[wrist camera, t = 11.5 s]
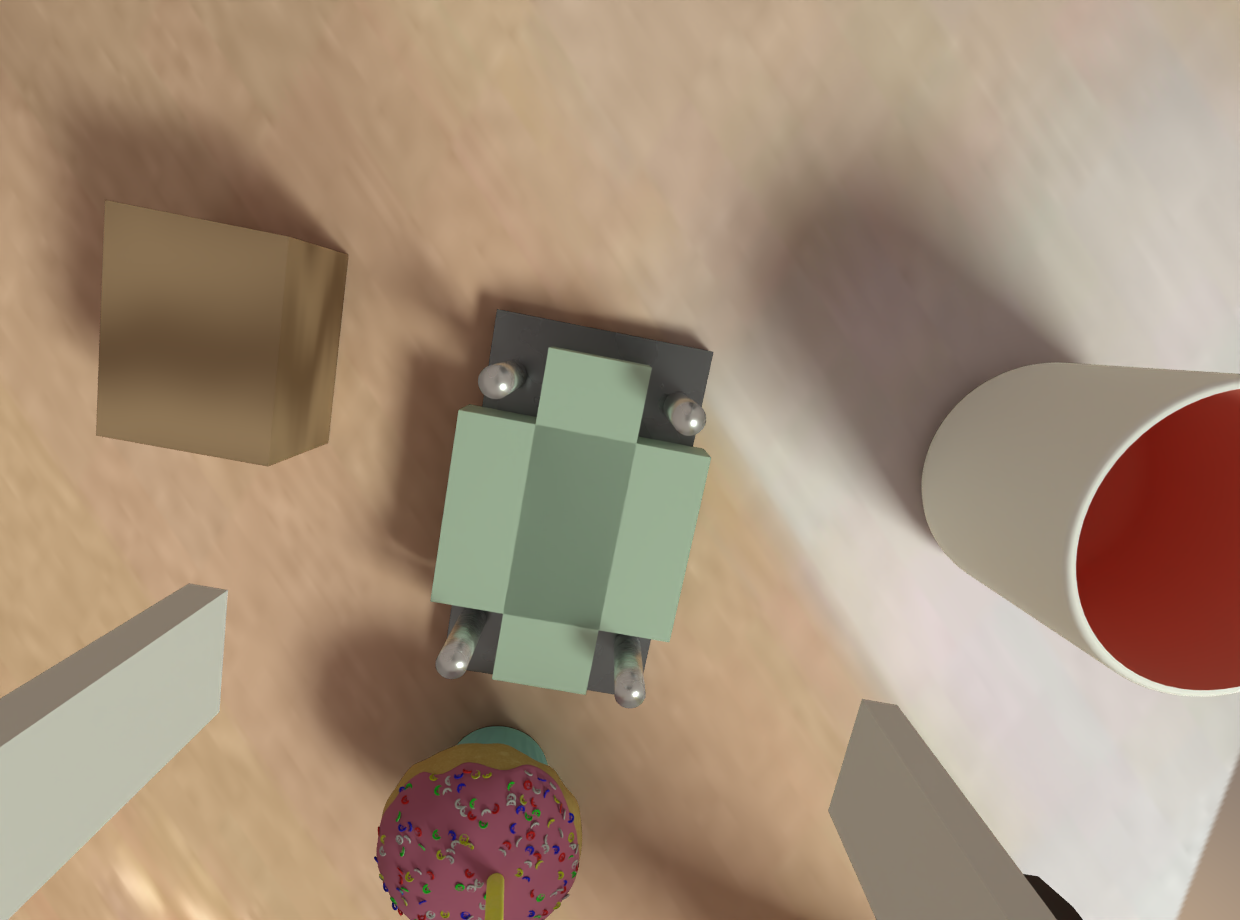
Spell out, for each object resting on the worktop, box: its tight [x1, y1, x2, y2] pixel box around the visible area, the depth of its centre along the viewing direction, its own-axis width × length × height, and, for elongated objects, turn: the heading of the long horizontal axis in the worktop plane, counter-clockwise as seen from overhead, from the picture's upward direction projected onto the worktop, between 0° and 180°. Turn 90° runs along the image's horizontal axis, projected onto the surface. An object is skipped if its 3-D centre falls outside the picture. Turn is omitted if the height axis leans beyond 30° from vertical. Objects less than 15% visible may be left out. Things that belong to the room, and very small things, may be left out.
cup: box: [922, 363, 1240, 697], centre depth 24 cm, size 10×10×10 cm
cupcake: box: [374, 726, 582, 920], centre depth 25 cm, size 9×8×12 cm
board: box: [431, 347, 711, 695], centre depth 27 cm, size 14×10×2 cm
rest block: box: [96, 200, 348, 466], centre depth 24 cm, size 8×6×5 cm
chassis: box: [436, 309, 713, 708], centre depth 26 cm, size 16×9×5 cm, turn 169°
